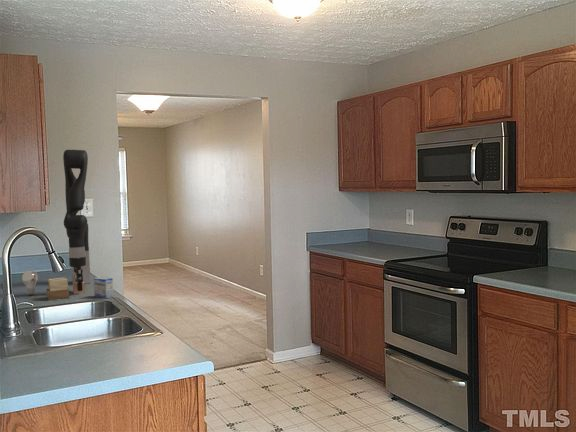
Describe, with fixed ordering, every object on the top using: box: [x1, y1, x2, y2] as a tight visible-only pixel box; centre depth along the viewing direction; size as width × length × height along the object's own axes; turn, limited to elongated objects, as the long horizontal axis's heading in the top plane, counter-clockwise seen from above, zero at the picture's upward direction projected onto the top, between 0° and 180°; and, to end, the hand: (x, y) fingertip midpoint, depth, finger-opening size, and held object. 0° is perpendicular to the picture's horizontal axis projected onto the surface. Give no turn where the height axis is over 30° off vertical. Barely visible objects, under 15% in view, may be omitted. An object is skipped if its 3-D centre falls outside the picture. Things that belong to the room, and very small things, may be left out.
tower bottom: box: [46, 287, 71, 301], centre depth 257 cm, size 9×9×4 cm
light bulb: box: [21, 269, 39, 296], centre depth 265 cm, size 7×7×12 cm
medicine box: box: [93, 277, 114, 299], centre depth 256 cm, size 8×4×9 cm, turn 62°
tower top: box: [48, 277, 69, 291], centre depth 256 cm, size 8×8×4 cm
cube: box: [72, 281, 86, 295], centre depth 268 cm, size 5×5×5 cm
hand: (79, 289), depth 268 cm, fingers open, 8 cm apart
